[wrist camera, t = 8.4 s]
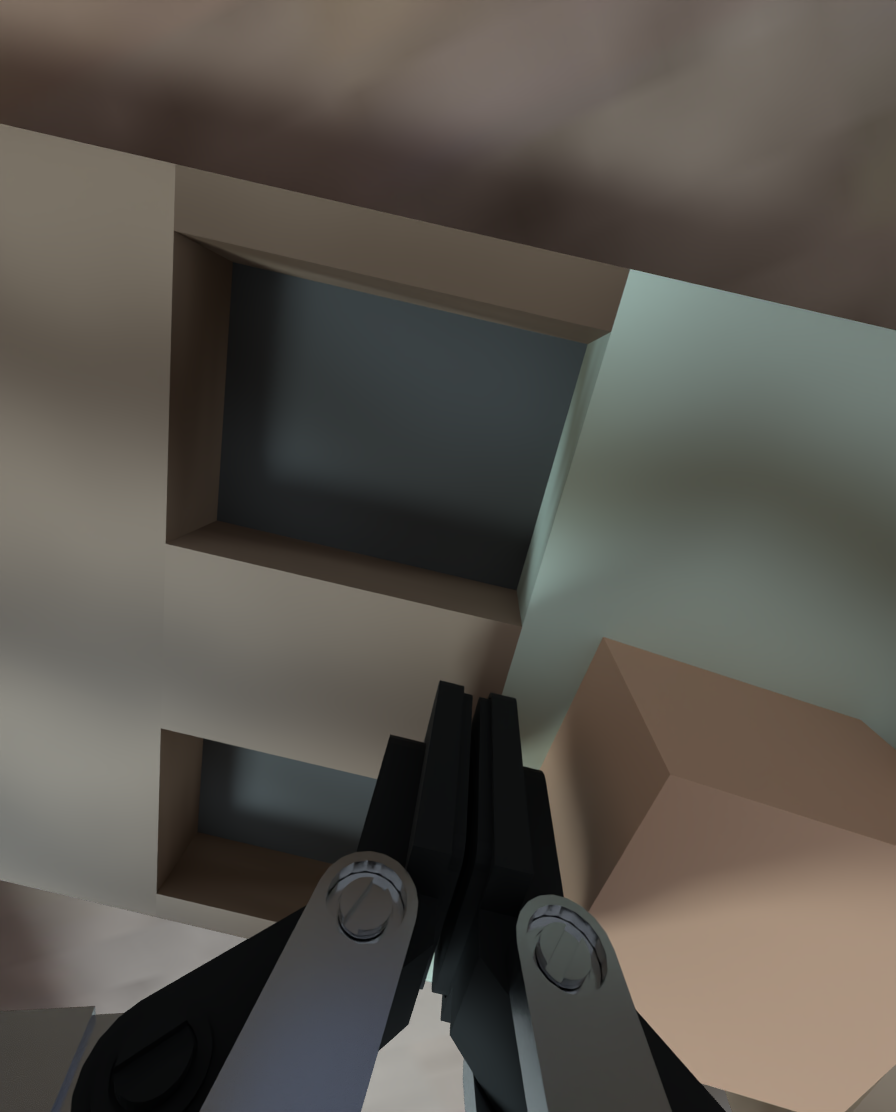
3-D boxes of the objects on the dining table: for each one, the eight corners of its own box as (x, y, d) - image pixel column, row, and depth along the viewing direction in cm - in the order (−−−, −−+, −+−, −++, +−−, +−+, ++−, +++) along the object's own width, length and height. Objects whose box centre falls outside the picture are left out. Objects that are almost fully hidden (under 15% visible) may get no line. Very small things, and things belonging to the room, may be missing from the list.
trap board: (-194, 114, 11) (-849, -158, 5) (1042, 400, 11) (1585, 403, 5) (-76, 777, 17) (-330, 949, 12) (706, 962, 17) (806, 1219, 11)
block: (602, 636, 10) (670, 774, 7) (860, 719, 11) (1071, 901, 7) (508, 834, 12) (518, 1028, 9) (727, 902, 12) (833, 1122, 9)
